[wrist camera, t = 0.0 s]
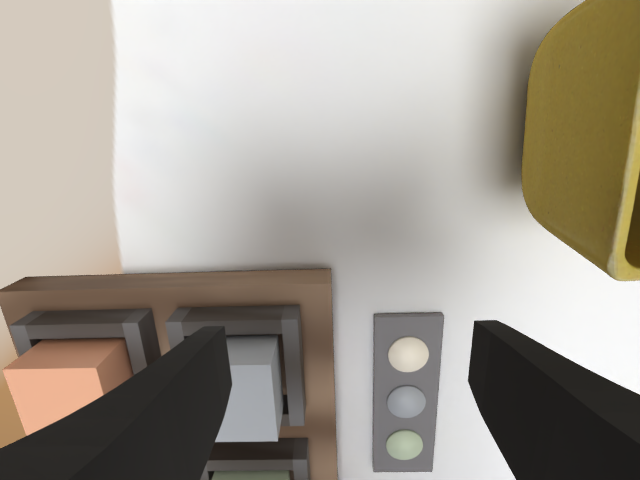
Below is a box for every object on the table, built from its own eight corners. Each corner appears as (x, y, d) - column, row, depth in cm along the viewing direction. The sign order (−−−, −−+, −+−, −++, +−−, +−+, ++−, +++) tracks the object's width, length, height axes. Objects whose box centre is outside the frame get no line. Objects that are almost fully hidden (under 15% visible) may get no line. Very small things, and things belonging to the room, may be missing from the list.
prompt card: (430, 466, 25) (432, 474, 24) (372, 466, 25) (373, 474, 24) (441, 312, 21) (445, 317, 20) (374, 314, 21) (375, 319, 21)
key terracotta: (140, 406, 20) (116, 443, 18) (63, 407, 20) (29, 444, 18) (124, 337, 18) (95, 367, 16) (42, 339, 19) (2, 369, 16)
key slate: (283, 404, 20) (277, 441, 17) (204, 405, 20) (188, 442, 17) (278, 334, 18) (270, 364, 16) (193, 336, 18) (173, 366, 16)
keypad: (338, 498, 26) (339, 553, 23) (95, 499, 26) (62, 553, 23) (330, 268, 20) (331, 296, 17) (25, 276, 21) (-32, 305, 18)
